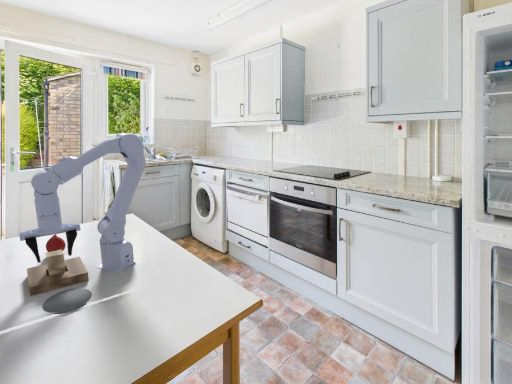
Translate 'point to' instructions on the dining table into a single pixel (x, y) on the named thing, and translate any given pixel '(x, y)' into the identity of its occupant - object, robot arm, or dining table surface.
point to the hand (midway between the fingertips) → (54, 257)
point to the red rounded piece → (55, 244)
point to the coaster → (67, 300)
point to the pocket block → (56, 276)
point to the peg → (55, 262)
